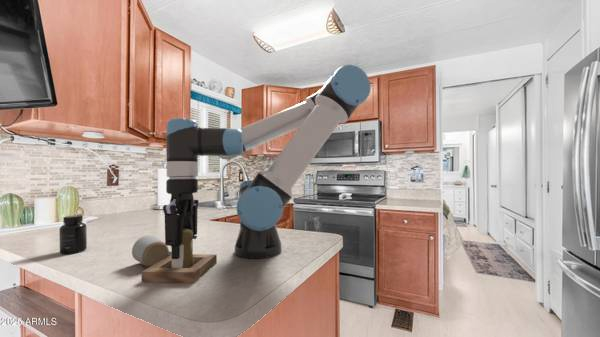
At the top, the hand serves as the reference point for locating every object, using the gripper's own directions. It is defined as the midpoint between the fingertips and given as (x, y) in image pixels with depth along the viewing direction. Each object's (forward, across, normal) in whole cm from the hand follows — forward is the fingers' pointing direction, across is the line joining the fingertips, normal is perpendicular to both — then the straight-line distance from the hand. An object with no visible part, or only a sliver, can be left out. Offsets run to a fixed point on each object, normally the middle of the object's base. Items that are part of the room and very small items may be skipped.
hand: (182, 267), depth 66 cm
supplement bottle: (+1, -16, -47) cm, 50 cm away
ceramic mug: (+2, -6, -12) cm, 13 cm away
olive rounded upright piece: (+1, 0, 0) cm, 1 cm away
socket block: (+1, 0, 0) cm, 1 cm away
